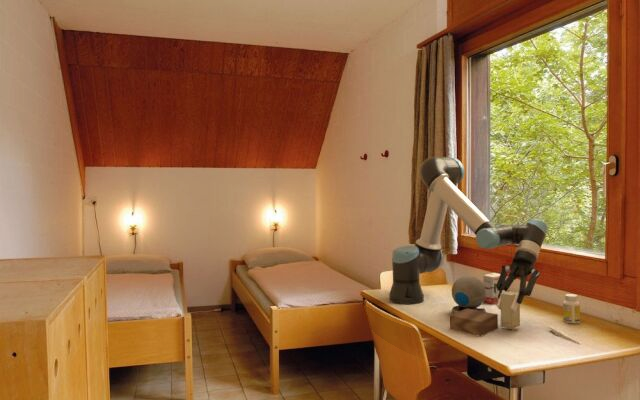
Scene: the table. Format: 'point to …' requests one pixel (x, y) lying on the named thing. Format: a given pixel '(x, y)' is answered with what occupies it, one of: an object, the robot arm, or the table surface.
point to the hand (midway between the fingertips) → (505, 308)
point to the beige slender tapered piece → (562, 334)
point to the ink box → (491, 288)
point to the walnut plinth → (474, 322)
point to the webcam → (468, 294)
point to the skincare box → (509, 311)
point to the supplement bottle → (571, 309)
